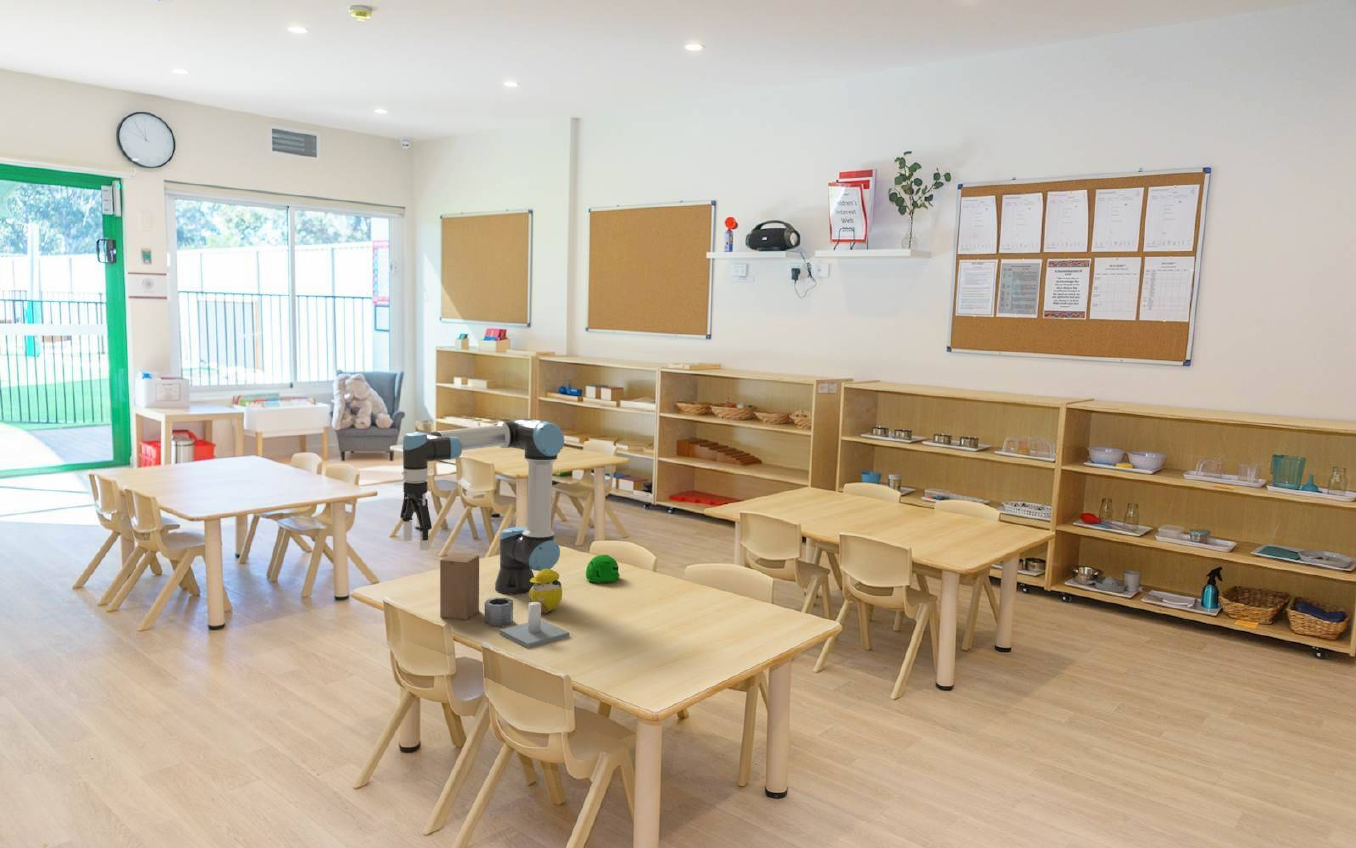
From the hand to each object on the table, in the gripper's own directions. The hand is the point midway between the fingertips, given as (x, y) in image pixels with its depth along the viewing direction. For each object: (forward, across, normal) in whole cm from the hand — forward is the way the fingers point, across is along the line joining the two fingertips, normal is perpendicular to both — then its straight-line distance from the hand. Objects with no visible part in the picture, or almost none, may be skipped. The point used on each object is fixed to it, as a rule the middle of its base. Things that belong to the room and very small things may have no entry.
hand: (415, 545), depth 296 cm
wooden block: (+27, -3, +16) cm, 32 cm away
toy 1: (+27, +10, +43) cm, 52 cm away
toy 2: (+28, -11, +80) cm, 85 cm away
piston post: (+27, +29, +28) cm, 49 cm away
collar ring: (+27, +12, +24) cm, 38 cm away
